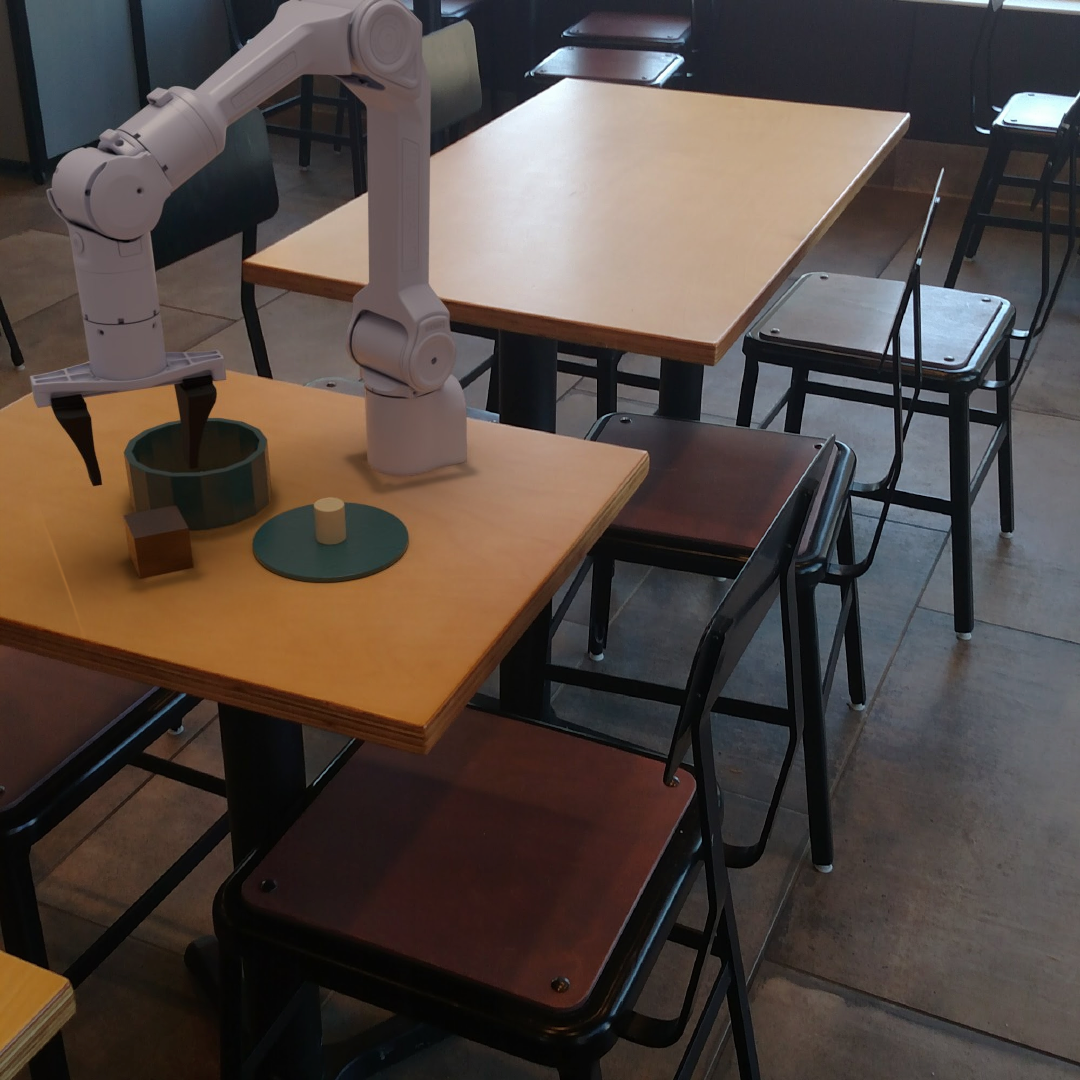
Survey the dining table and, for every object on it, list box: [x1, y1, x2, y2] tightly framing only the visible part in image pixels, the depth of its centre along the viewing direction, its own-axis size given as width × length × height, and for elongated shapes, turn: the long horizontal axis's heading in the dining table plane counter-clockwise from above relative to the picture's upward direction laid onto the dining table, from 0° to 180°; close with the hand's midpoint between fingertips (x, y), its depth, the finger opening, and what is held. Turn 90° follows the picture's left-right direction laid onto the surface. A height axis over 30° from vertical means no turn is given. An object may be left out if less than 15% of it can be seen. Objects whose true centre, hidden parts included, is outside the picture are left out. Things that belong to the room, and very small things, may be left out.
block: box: [122, 505, 194, 580], centre depth 105 cm, size 4×4×4 cm
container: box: [123, 417, 273, 531], centre depth 114 cm, size 12×12×6 cm
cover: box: [252, 496, 410, 583], centre depth 108 cm, size 13×13×4 cm
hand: (144, 472), depth 102 cm, fingers open, 7 cm apart
